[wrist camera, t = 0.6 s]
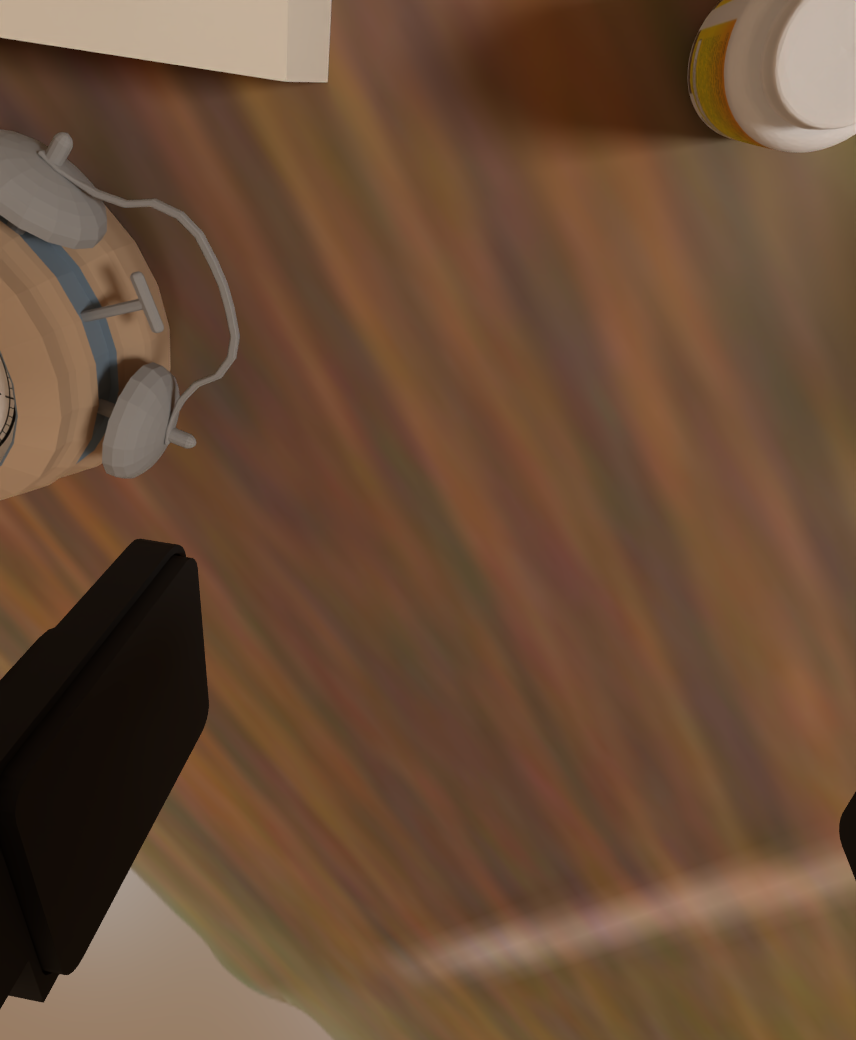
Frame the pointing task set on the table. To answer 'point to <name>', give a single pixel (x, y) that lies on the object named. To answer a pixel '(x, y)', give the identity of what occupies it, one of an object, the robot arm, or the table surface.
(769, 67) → the supplement bottle
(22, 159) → the alarm clock
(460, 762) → the table surface
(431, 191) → the table surface
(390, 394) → the table surface
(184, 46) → the block
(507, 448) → the table surface
